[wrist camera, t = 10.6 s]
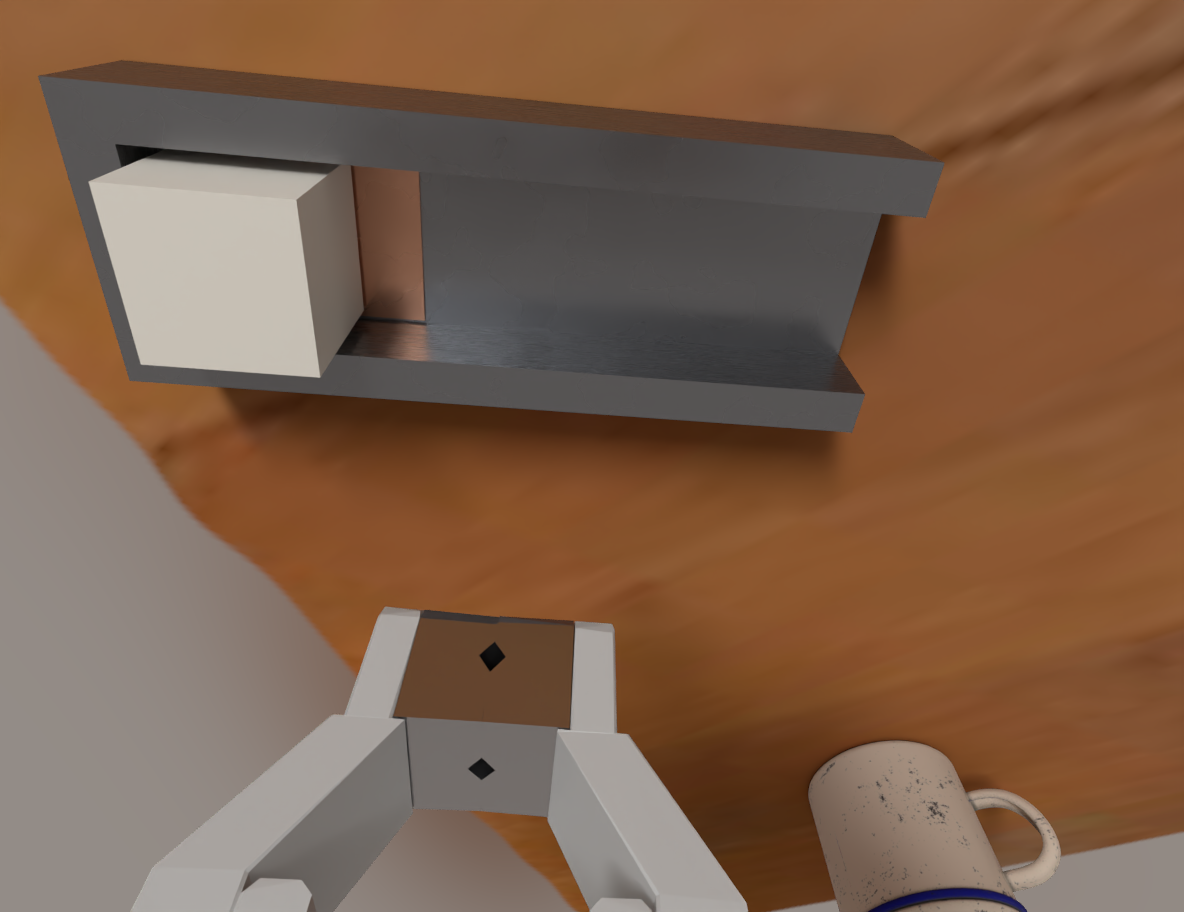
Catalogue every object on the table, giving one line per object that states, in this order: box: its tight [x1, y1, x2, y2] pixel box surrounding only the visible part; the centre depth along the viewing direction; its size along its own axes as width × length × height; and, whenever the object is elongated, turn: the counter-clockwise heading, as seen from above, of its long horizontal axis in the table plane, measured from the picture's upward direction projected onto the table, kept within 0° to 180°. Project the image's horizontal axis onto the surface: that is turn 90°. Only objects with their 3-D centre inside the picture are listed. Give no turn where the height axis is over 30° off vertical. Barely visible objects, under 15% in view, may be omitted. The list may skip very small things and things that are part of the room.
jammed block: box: [89, 149, 364, 378], centre depth 21 cm, size 5×5×5 cm
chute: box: [38, 60, 944, 432], centre depth 23 cm, size 24×9×4 cm, turn 85°
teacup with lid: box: [808, 740, 1061, 912], centre depth 38 cm, size 12×9×12 cm
